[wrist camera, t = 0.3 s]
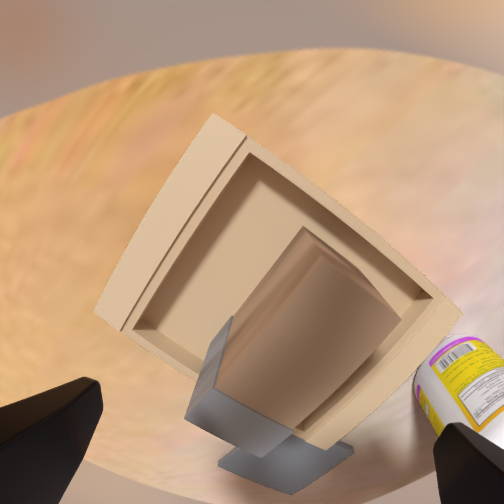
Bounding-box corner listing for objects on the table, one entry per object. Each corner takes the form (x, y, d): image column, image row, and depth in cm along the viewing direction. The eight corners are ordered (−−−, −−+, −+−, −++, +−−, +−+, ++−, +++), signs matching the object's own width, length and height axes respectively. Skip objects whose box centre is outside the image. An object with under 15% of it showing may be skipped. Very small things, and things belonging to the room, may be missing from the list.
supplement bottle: (454, 405, 21) (520, 513, 8) (395, 397, 21) (455, 534, 8) (495, 337, 19) (591, 432, 7) (439, 321, 19) (548, 443, 7)
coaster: (353, 447, 22) (354, 452, 21) (291, 490, 24) (291, 495, 23) (277, 411, 21) (277, 416, 21) (218, 461, 23) (217, 466, 22)
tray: (446, 299, 19) (463, 313, 16) (322, 429, 22) (325, 450, 19) (220, 120, 17) (212, 112, 15) (109, 297, 20) (93, 311, 18)
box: (358, 268, 18) (404, 322, 11) (265, 376, 20) (261, 457, 13) (301, 224, 17) (321, 258, 11) (210, 342, 19) (183, 418, 13)
